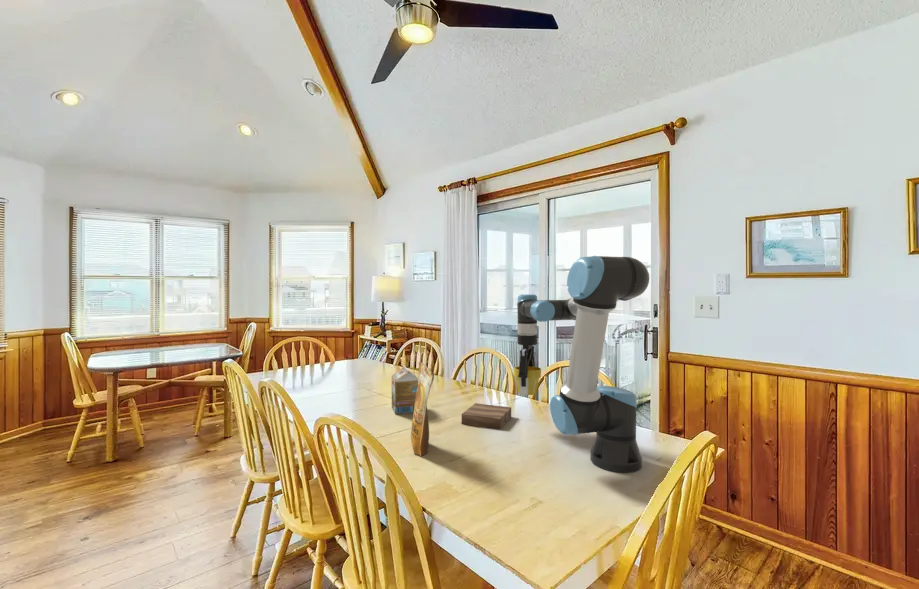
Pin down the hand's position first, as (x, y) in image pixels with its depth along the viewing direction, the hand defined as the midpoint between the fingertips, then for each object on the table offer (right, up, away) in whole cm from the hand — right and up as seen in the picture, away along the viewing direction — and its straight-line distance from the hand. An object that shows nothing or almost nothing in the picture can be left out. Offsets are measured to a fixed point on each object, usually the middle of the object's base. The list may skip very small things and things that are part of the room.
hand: (527, 391), depth 163 cm
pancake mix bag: (-39, -15, -19) cm, 46 cm away
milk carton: (-50, -14, +23) cm, 57 cm away
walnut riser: (-15, -14, +9) cm, 22 cm away
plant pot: (0, -1, 0) cm, 1 cm away
